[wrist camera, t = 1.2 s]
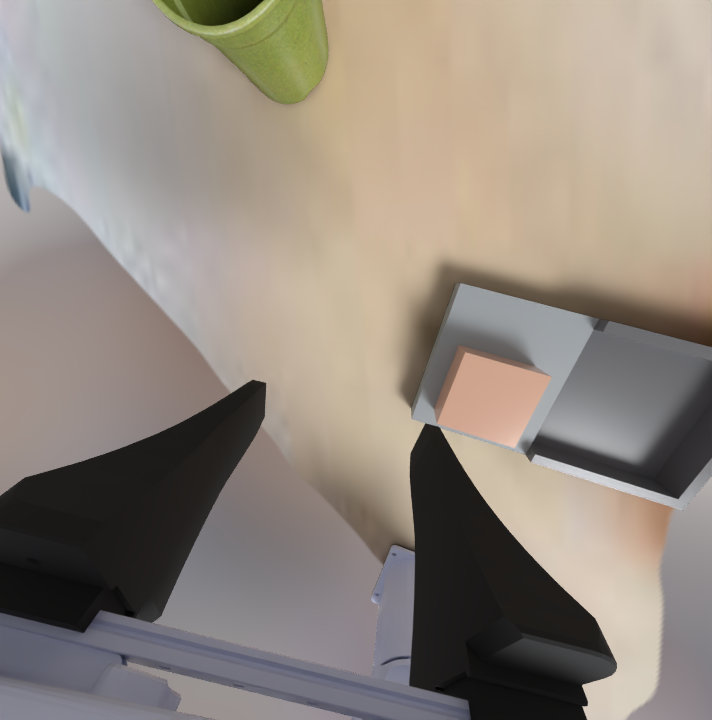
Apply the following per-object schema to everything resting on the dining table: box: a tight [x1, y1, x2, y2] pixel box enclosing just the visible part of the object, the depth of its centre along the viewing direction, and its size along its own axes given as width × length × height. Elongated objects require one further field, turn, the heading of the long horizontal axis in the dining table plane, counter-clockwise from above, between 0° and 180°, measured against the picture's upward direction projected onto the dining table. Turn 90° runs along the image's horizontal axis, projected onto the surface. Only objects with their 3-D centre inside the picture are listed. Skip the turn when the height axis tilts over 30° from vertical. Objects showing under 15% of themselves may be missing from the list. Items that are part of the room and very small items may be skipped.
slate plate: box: [411, 283, 599, 455], centre depth 22 cm, size 12×10×2 cm
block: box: [434, 345, 552, 448], centre depth 21 cm, size 6×6×2 cm
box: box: [526, 319, 712, 510], centre depth 21 cm, size 12×12×3 cm
